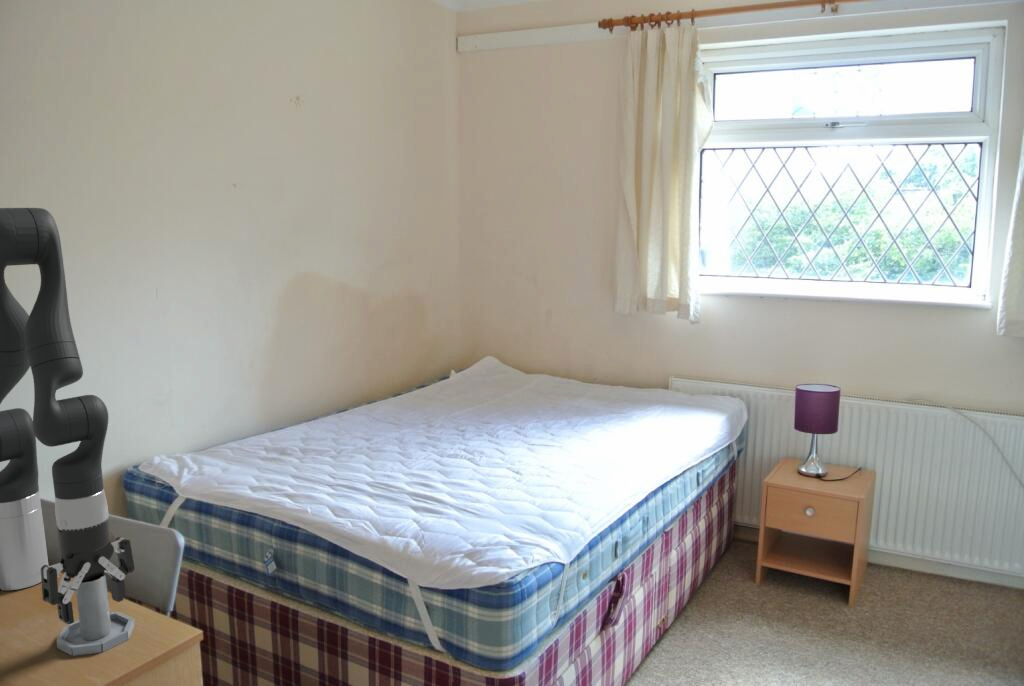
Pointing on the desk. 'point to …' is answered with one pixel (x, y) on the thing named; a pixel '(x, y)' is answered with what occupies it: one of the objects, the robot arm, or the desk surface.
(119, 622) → the saucer
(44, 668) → the desk surface
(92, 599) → the planter
